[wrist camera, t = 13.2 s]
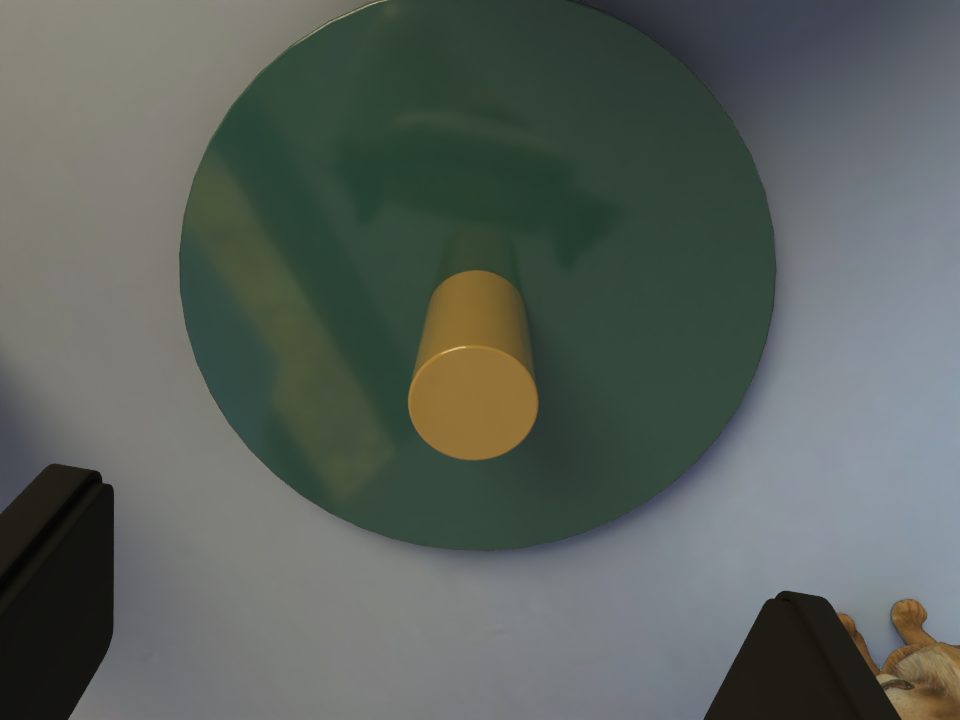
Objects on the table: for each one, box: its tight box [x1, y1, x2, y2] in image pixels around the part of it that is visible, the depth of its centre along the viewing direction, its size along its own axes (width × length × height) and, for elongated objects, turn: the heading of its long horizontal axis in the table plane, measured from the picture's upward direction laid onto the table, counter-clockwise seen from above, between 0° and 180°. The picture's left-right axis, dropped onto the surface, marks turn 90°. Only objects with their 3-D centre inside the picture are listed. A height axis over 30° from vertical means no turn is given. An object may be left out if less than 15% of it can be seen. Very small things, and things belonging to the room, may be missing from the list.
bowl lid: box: [179, 0, 776, 551], centre depth 19 cm, size 18×18×7 cm
